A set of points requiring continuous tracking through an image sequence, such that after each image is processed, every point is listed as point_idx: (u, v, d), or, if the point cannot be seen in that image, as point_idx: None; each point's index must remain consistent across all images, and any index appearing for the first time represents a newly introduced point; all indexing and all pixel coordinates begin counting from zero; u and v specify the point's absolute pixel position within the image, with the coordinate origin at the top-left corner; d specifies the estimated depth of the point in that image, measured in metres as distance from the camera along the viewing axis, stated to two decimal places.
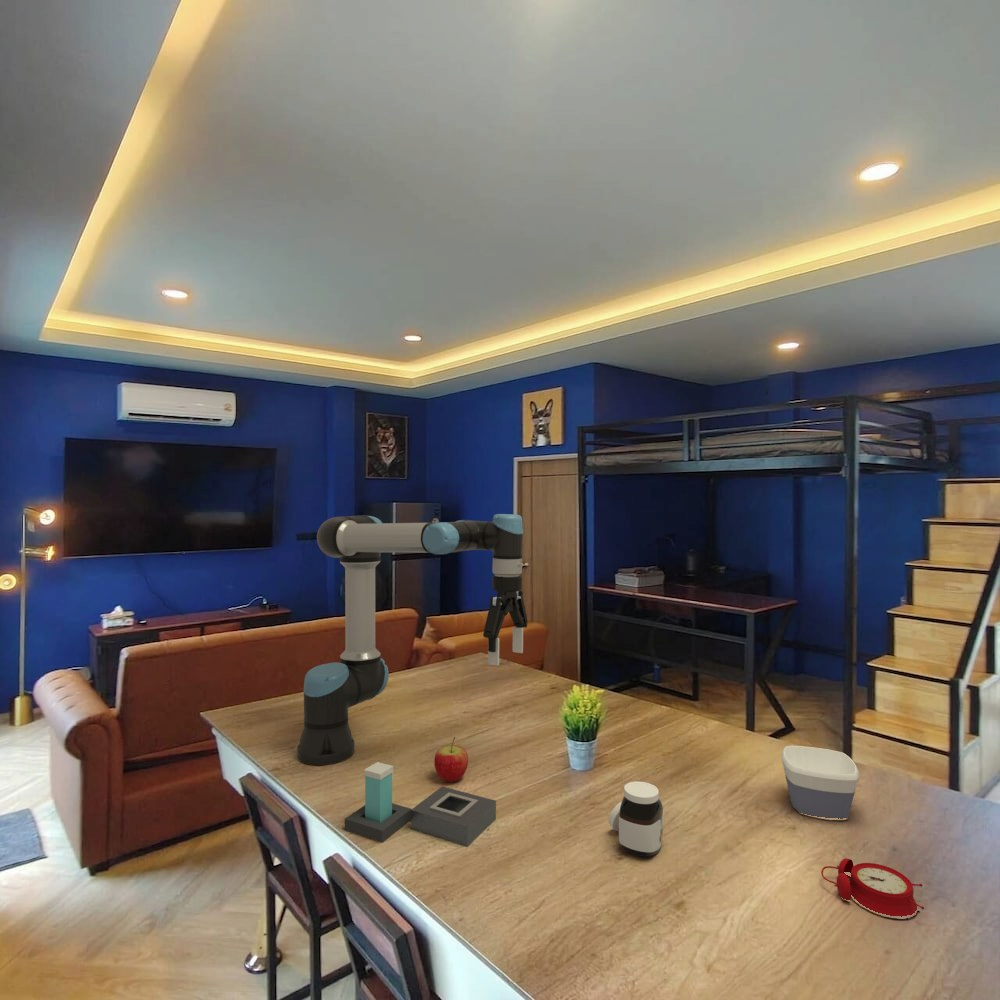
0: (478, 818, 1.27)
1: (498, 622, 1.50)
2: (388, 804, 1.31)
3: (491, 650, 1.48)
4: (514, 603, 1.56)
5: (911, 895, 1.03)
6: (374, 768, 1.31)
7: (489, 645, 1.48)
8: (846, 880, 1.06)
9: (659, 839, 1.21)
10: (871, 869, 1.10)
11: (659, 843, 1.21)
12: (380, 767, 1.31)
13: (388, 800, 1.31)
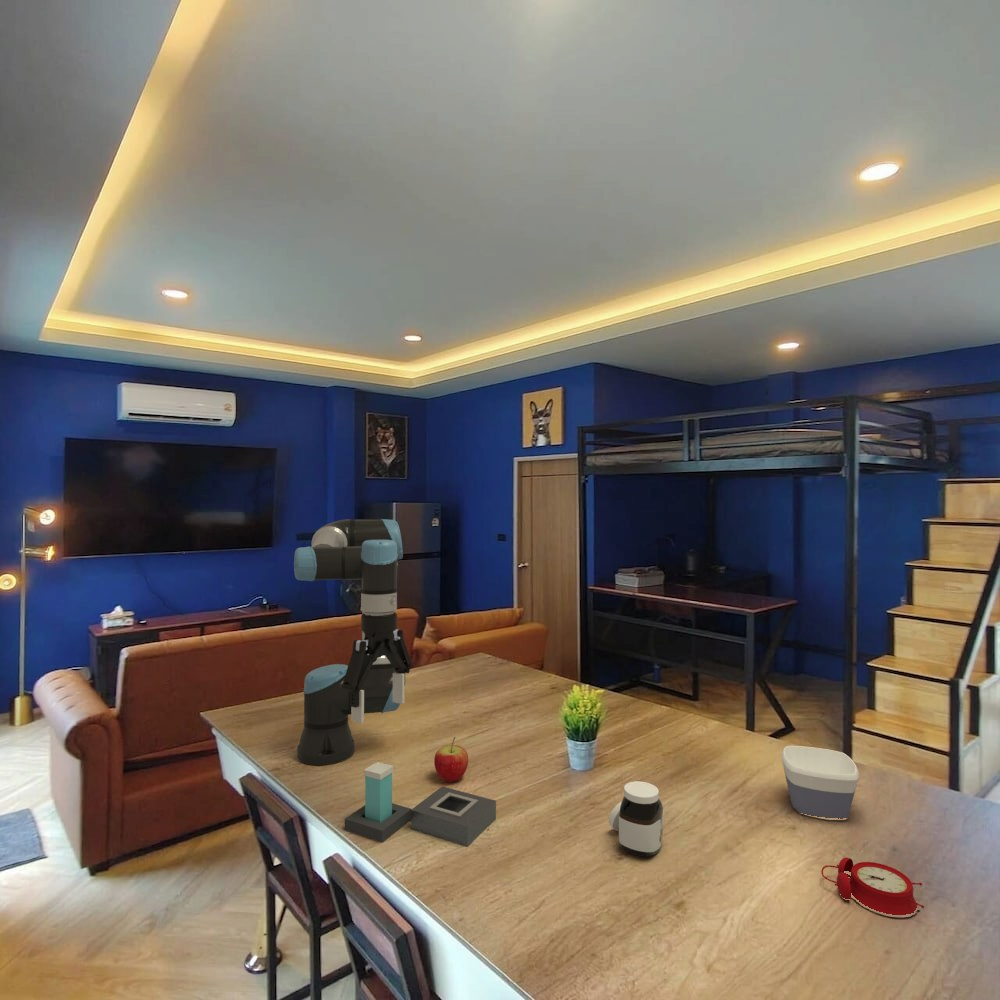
0: (478, 818, 1.27)
1: (363, 670, 1.25)
2: (388, 804, 1.31)
3: (353, 705, 1.23)
4: (388, 646, 1.31)
5: (911, 894, 1.04)
6: (374, 768, 1.31)
7: (351, 699, 1.24)
8: (846, 879, 1.07)
9: (659, 839, 1.21)
10: (871, 868, 1.10)
11: (659, 843, 1.21)
12: (380, 767, 1.31)
13: (388, 800, 1.31)
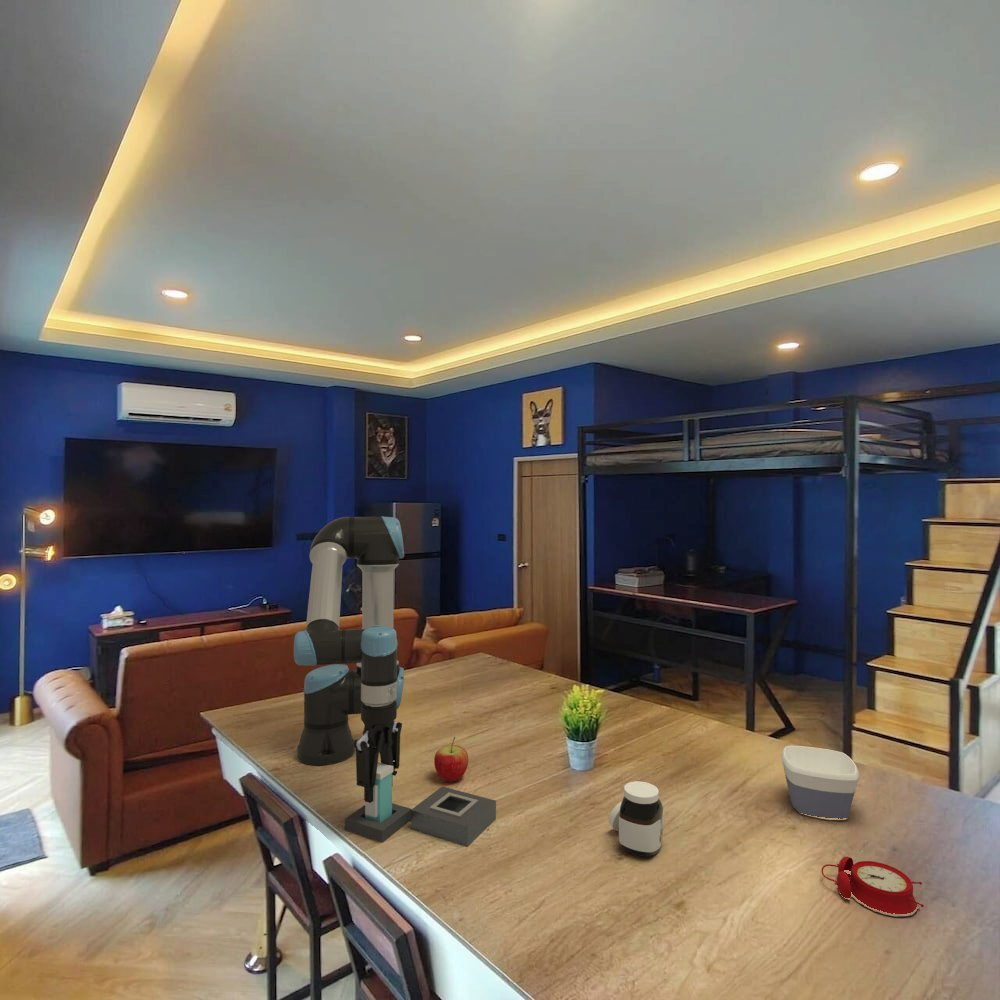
0: (478, 818, 1.27)
1: (371, 766, 1.28)
2: (388, 804, 1.31)
3: (367, 800, 1.27)
4: (387, 734, 1.31)
5: (911, 893, 1.04)
6: None
7: (365, 794, 1.28)
8: (846, 878, 1.07)
9: (659, 839, 1.21)
10: (871, 868, 1.11)
11: (659, 843, 1.21)
12: (380, 767, 1.31)
13: (388, 800, 1.31)
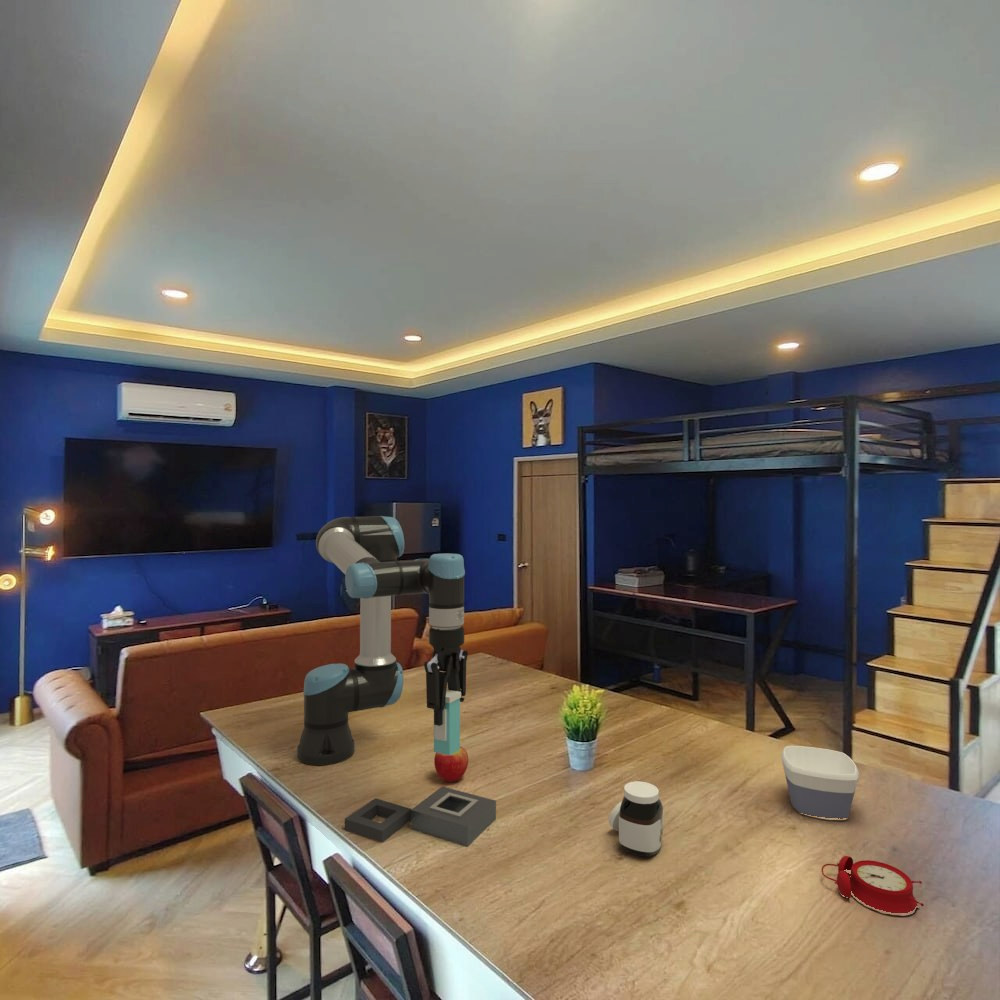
0: (478, 818, 1.27)
1: (441, 689, 1.28)
2: (456, 729, 1.31)
3: (437, 723, 1.27)
4: (455, 660, 1.31)
5: (911, 892, 1.04)
6: None
7: (435, 717, 1.28)
8: (846, 877, 1.07)
9: (659, 839, 1.21)
10: (871, 867, 1.11)
11: (659, 843, 1.21)
12: (448, 692, 1.31)
13: (456, 725, 1.31)
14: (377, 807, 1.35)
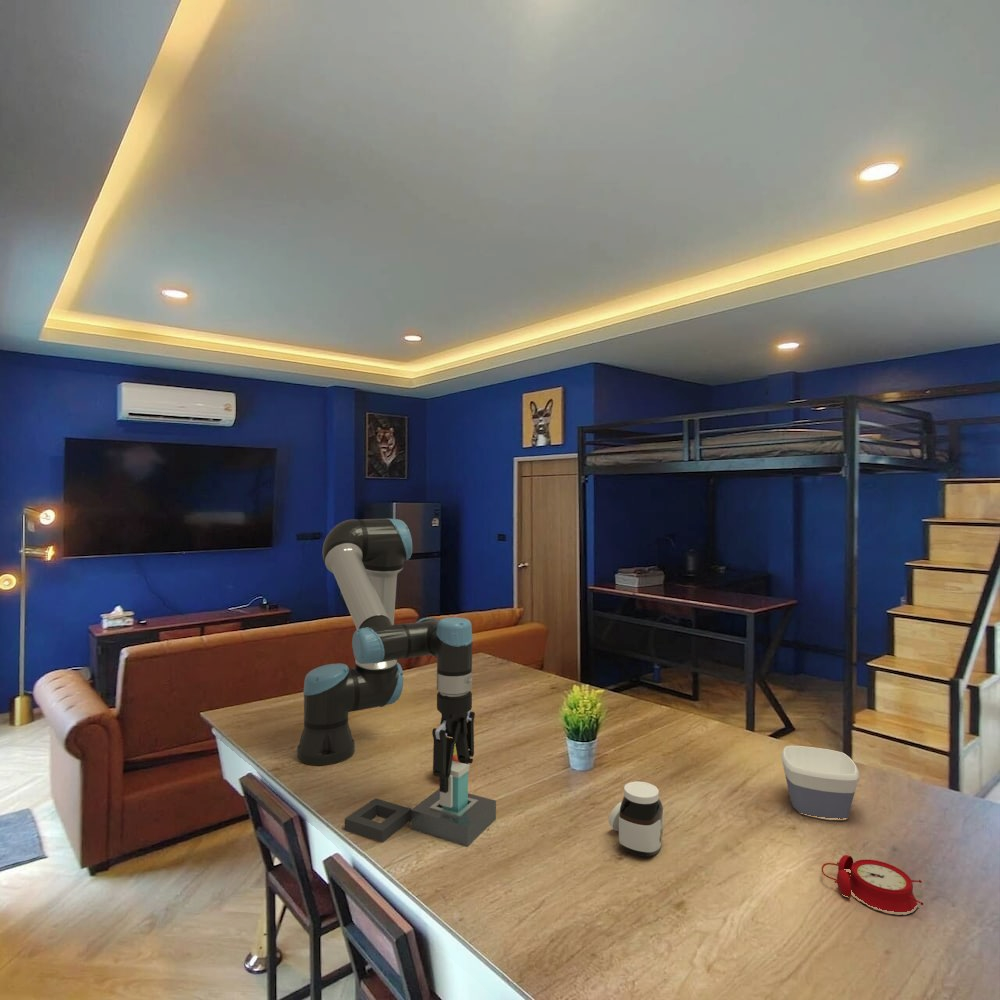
0: (478, 818, 1.27)
1: (448, 756, 1.28)
2: (464, 802, 1.32)
3: (443, 790, 1.27)
4: (462, 725, 1.31)
5: (910, 891, 1.04)
6: (451, 766, 1.32)
7: (440, 784, 1.28)
8: (846, 876, 1.08)
9: (659, 839, 1.21)
10: (871, 866, 1.11)
11: (659, 843, 1.21)
12: (456, 765, 1.32)
13: (464, 798, 1.31)
14: (377, 807, 1.35)
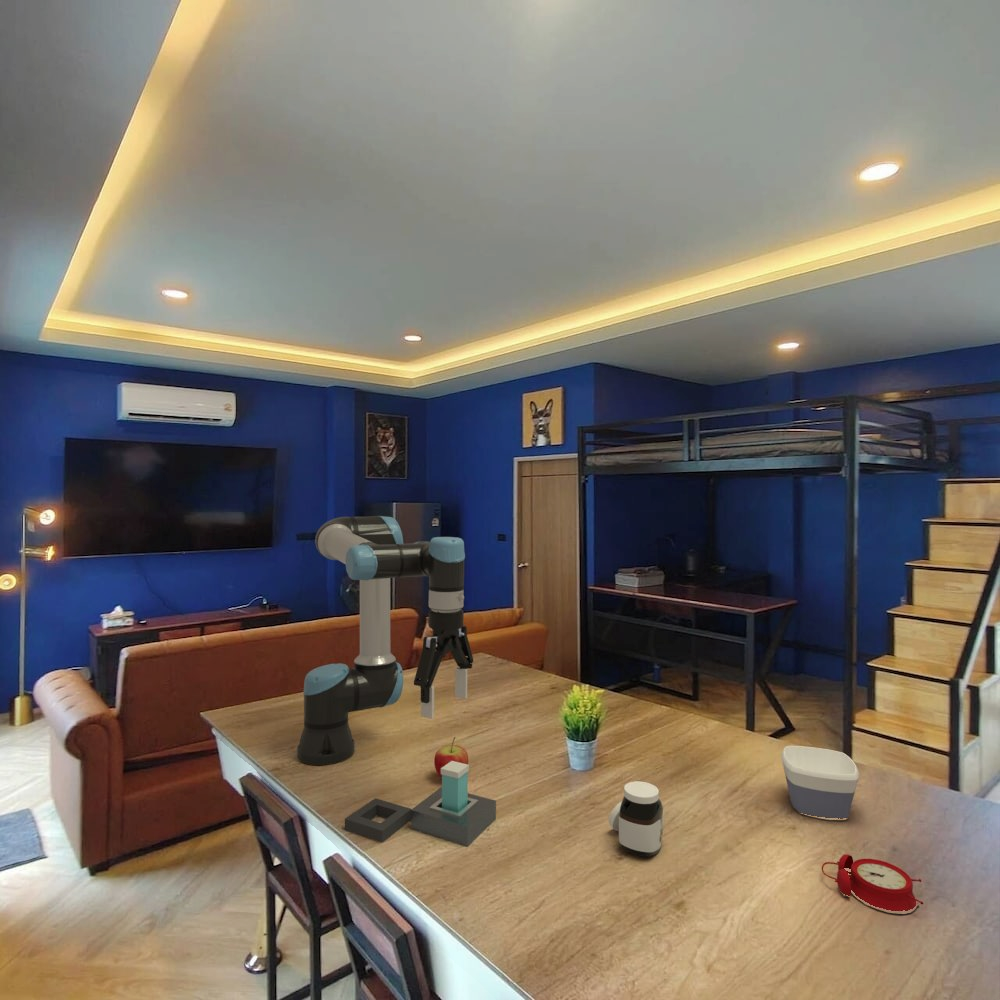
0: (478, 818, 1.27)
1: (433, 667, 1.26)
2: (464, 802, 1.31)
3: (424, 701, 1.25)
4: (454, 642, 1.32)
5: (910, 890, 1.04)
6: (450, 767, 1.31)
7: (421, 695, 1.25)
8: (846, 876, 1.08)
9: (659, 839, 1.21)
10: (871, 865, 1.11)
11: (659, 843, 1.21)
12: (456, 766, 1.32)
13: (464, 798, 1.31)
14: (377, 807, 1.35)
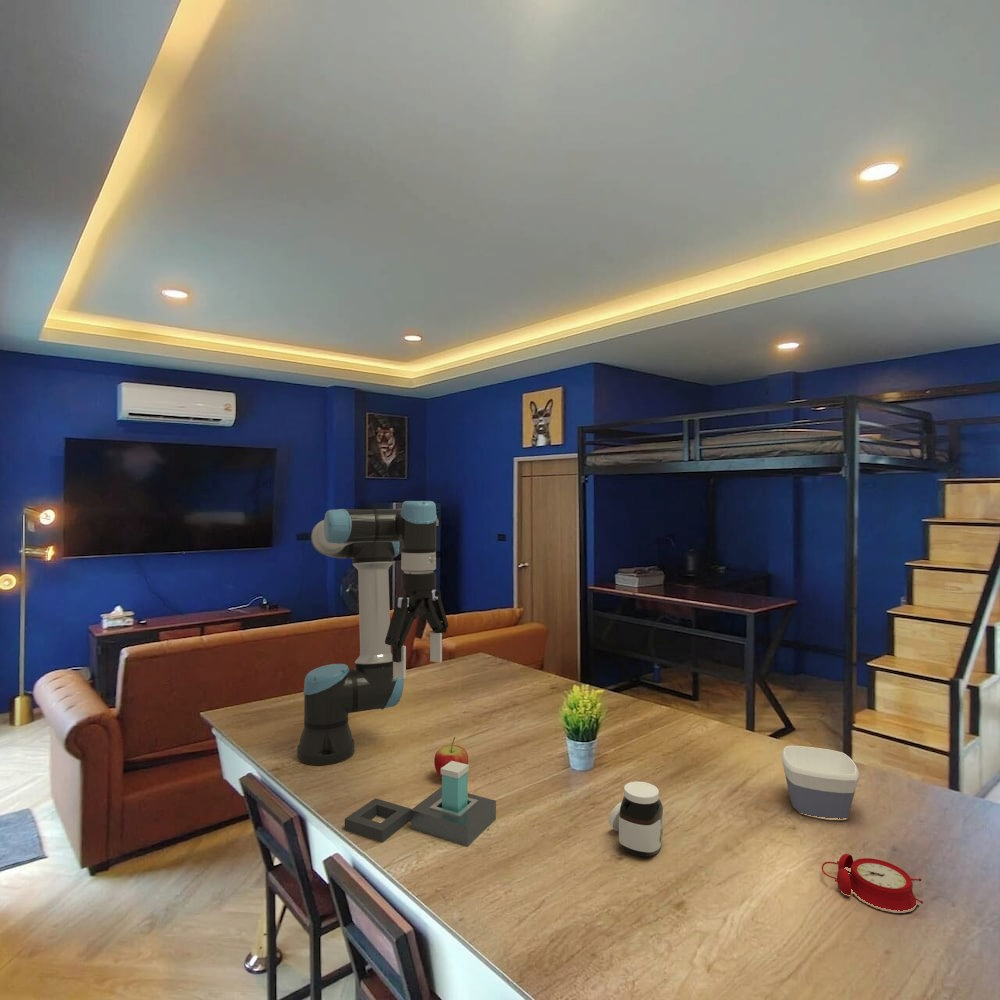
0: (478, 818, 1.27)
1: (405, 627, 1.28)
2: (464, 802, 1.31)
3: (395, 660, 1.26)
4: (427, 604, 1.34)
5: (910, 890, 1.05)
6: (450, 767, 1.31)
7: (393, 654, 1.26)
8: (846, 875, 1.08)
9: (659, 839, 1.21)
10: (870, 865, 1.11)
11: (659, 843, 1.21)
12: (456, 766, 1.32)
13: (464, 799, 1.31)
14: (377, 807, 1.35)
